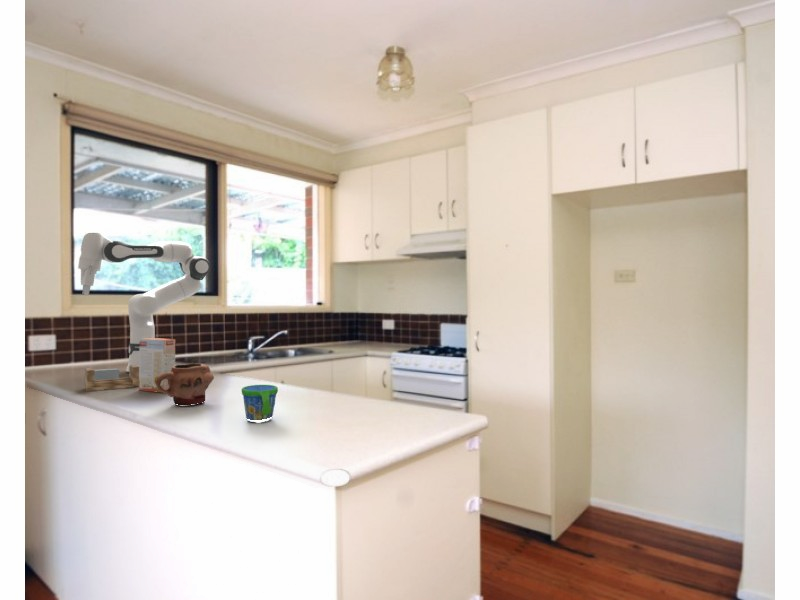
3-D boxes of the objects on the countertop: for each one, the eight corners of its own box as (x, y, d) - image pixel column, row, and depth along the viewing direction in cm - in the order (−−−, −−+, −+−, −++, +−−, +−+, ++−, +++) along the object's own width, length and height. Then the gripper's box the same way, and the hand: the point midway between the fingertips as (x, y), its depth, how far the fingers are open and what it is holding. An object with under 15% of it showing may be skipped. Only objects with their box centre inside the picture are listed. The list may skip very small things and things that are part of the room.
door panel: (117, 382, 213) (118, 368, 213) (118, 382, 211) (118, 369, 211) (91, 384, 207) (91, 370, 207) (91, 385, 205) (92, 371, 205)
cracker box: (175, 391, 193) (176, 338, 193) (162, 393, 187) (163, 339, 187) (151, 388, 199) (152, 337, 199) (138, 390, 193) (138, 338, 193)
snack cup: (281, 425, 142) (282, 390, 142) (244, 429, 138) (244, 393, 138) (272, 413, 156) (273, 382, 156) (238, 416, 152) (239, 384, 152)
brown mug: (167, 412, 156) (168, 369, 156) (147, 407, 163) (147, 366, 163) (221, 402, 173) (221, 363, 173) (200, 398, 179) (201, 360, 179)
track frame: (135, 383, 208) (135, 364, 208) (139, 386, 202) (139, 366, 202) (84, 388, 197) (85, 368, 197) (87, 391, 190) (87, 370, 190)
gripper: (99, 266, 223) (95, 296, 222) (95, 267, 239) (91, 295, 238) (83, 264, 219) (79, 294, 218) (80, 265, 235) (75, 294, 234)
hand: (85, 295), depth 228 cm, fingers open, 8 cm apart
